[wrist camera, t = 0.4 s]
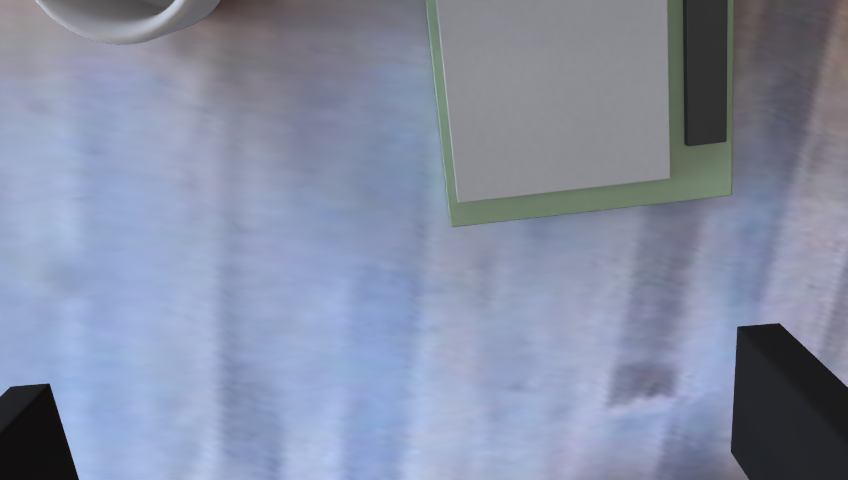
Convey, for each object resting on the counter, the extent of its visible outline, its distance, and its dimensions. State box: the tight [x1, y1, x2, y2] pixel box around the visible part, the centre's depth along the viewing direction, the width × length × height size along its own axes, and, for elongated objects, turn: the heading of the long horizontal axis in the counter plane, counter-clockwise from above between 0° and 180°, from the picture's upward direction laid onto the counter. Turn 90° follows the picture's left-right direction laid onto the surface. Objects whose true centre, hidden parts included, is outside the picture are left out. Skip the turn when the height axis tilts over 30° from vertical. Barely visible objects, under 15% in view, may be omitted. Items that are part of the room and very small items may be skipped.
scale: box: [425, 0, 734, 227], centre depth 36 cm, size 16×15×3 cm
